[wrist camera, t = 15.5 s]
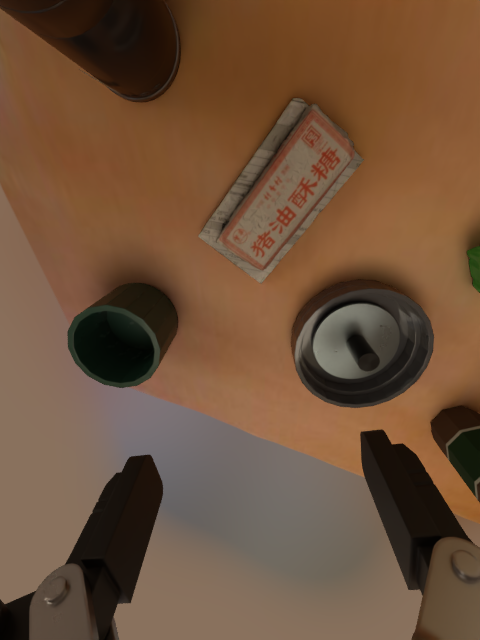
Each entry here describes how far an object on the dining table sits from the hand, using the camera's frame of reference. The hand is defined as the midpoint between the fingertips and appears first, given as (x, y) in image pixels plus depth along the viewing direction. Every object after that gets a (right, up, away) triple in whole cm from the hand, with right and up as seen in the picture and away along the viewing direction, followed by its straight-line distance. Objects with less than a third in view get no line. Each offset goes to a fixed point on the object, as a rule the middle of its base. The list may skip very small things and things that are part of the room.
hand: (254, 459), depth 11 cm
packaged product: (+4, +20, +24) cm, 32 cm away
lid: (+15, +2, +30) cm, 34 cm away
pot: (-15, +5, +31) cm, 35 cm away
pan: (+15, +3, +31) cm, 35 cm away
